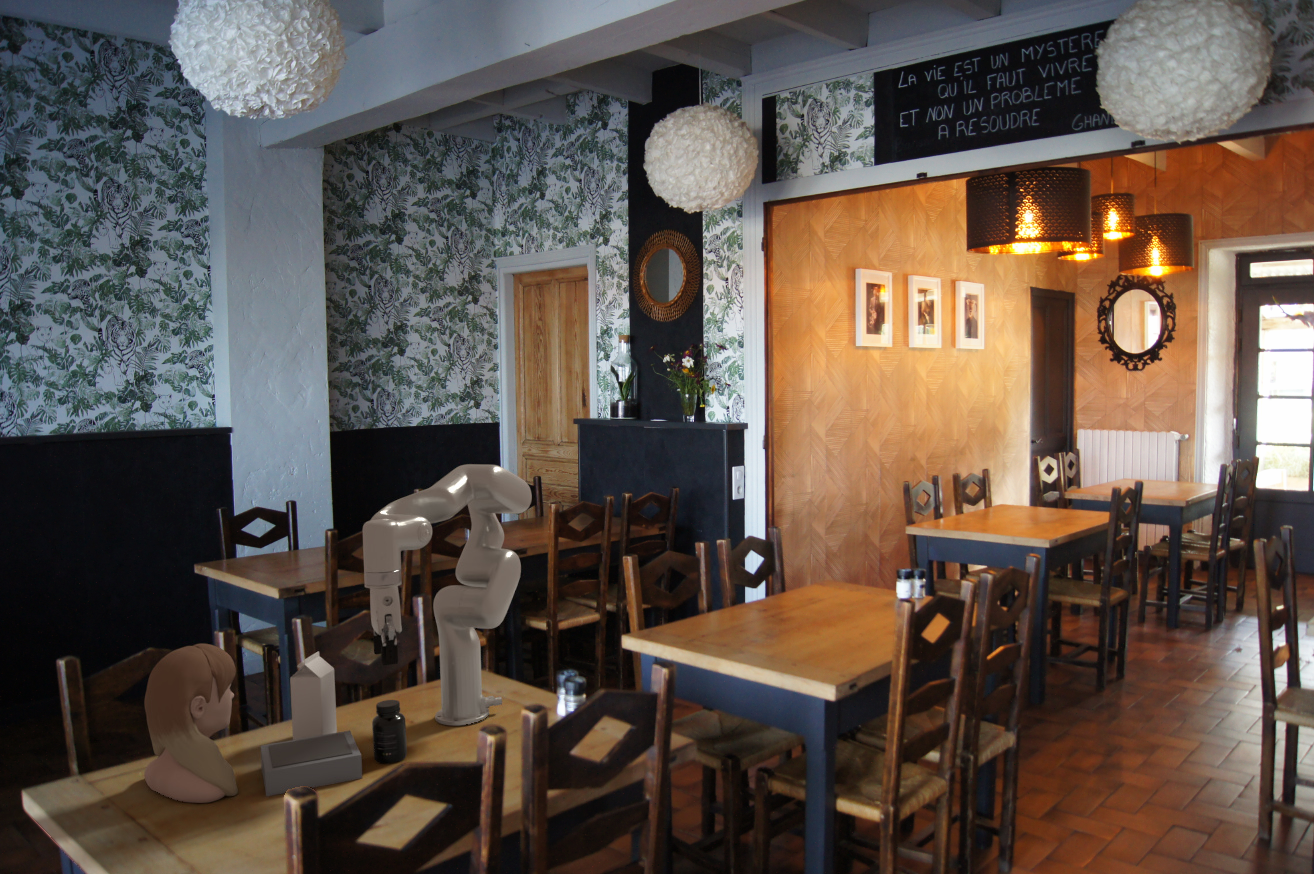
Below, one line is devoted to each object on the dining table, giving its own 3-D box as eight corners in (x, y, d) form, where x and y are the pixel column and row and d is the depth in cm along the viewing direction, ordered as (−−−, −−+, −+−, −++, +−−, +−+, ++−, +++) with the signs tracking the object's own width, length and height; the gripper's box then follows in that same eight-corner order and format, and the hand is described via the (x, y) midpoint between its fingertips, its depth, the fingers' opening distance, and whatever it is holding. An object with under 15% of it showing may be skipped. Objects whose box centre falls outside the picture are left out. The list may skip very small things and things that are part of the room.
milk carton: (337, 732, 220) (333, 651, 219) (323, 744, 213) (319, 659, 212) (307, 732, 221) (303, 651, 220) (292, 743, 213) (289, 659, 213)
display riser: (350, 751, 207) (349, 729, 207) (362, 777, 193) (361, 753, 193) (261, 767, 200) (260, 744, 200) (266, 796, 185) (265, 770, 185)
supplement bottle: (377, 753, 206) (375, 698, 206) (409, 751, 207) (407, 696, 206) (370, 765, 200) (368, 708, 199) (403, 763, 200) (401, 707, 200)
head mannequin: (274, 780, 192) (263, 644, 190) (192, 815, 178) (178, 668, 176) (208, 756, 206) (197, 629, 204) (127, 787, 193) (114, 651, 191)
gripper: (409, 583, 195) (411, 666, 196) (393, 570, 211) (396, 647, 211) (371, 587, 192) (374, 671, 193) (358, 573, 208) (361, 651, 208)
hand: (385, 658), depth 202 cm, fingers open, 9 cm apart
